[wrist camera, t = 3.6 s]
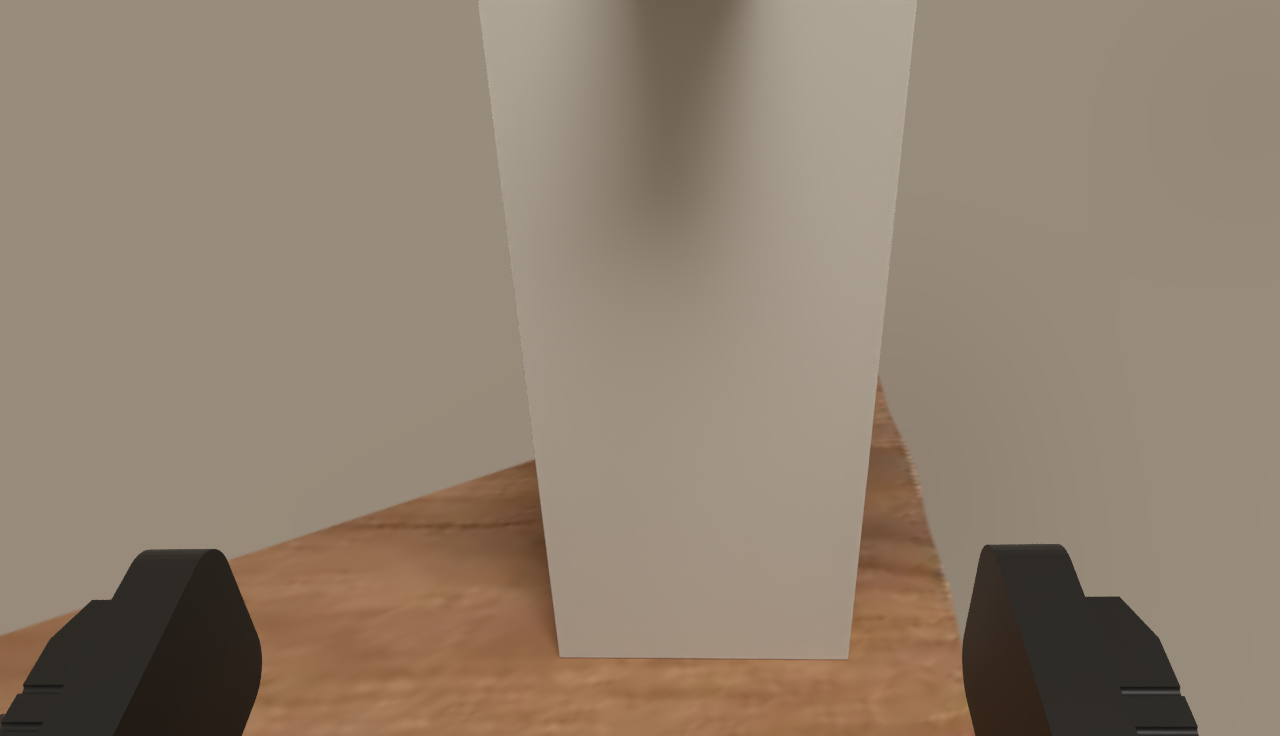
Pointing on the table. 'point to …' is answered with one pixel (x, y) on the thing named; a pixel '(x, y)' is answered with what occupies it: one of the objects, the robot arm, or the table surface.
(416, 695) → the table surface
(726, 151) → the stand
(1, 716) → the coffee box
